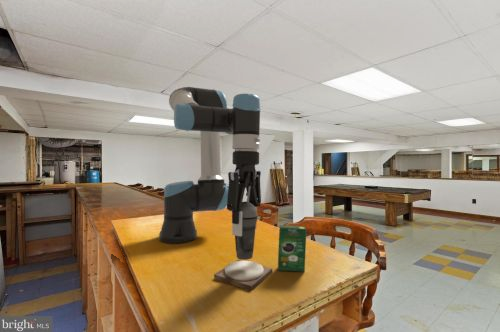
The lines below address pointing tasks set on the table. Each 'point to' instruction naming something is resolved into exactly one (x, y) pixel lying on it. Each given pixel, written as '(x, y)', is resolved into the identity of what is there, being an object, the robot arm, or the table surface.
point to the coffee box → (292, 248)
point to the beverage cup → (246, 230)
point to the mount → (243, 274)
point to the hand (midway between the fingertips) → (244, 231)
